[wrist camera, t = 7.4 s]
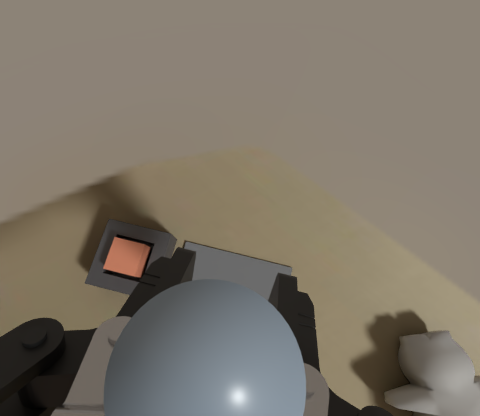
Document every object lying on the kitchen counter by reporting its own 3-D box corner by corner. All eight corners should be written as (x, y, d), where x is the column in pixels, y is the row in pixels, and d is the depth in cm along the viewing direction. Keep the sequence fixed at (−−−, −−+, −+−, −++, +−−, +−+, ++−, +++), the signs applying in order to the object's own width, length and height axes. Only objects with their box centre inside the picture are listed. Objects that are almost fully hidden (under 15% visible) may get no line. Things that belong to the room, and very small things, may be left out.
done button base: (99, 284, 29) (84, 283, 26) (120, 225, 30) (109, 218, 27) (158, 299, 28) (150, 300, 26) (176, 239, 30) (171, 234, 27)
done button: (112, 270, 27) (103, 268, 25) (122, 240, 28) (114, 236, 26) (141, 277, 27) (134, 276, 25) (151, 247, 28) (145, 244, 26)
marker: (185, 342, 16) (70, 473, 5) (202, 280, 17) (142, 258, 6) (245, 358, 16) (284, 534, 4) (259, 295, 17) (321, 304, 5)
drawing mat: (155, 345, 27) (154, 346, 27) (186, 241, 30) (186, 241, 30) (271, 376, 27) (271, 376, 27) (291, 267, 30) (292, 267, 29)
